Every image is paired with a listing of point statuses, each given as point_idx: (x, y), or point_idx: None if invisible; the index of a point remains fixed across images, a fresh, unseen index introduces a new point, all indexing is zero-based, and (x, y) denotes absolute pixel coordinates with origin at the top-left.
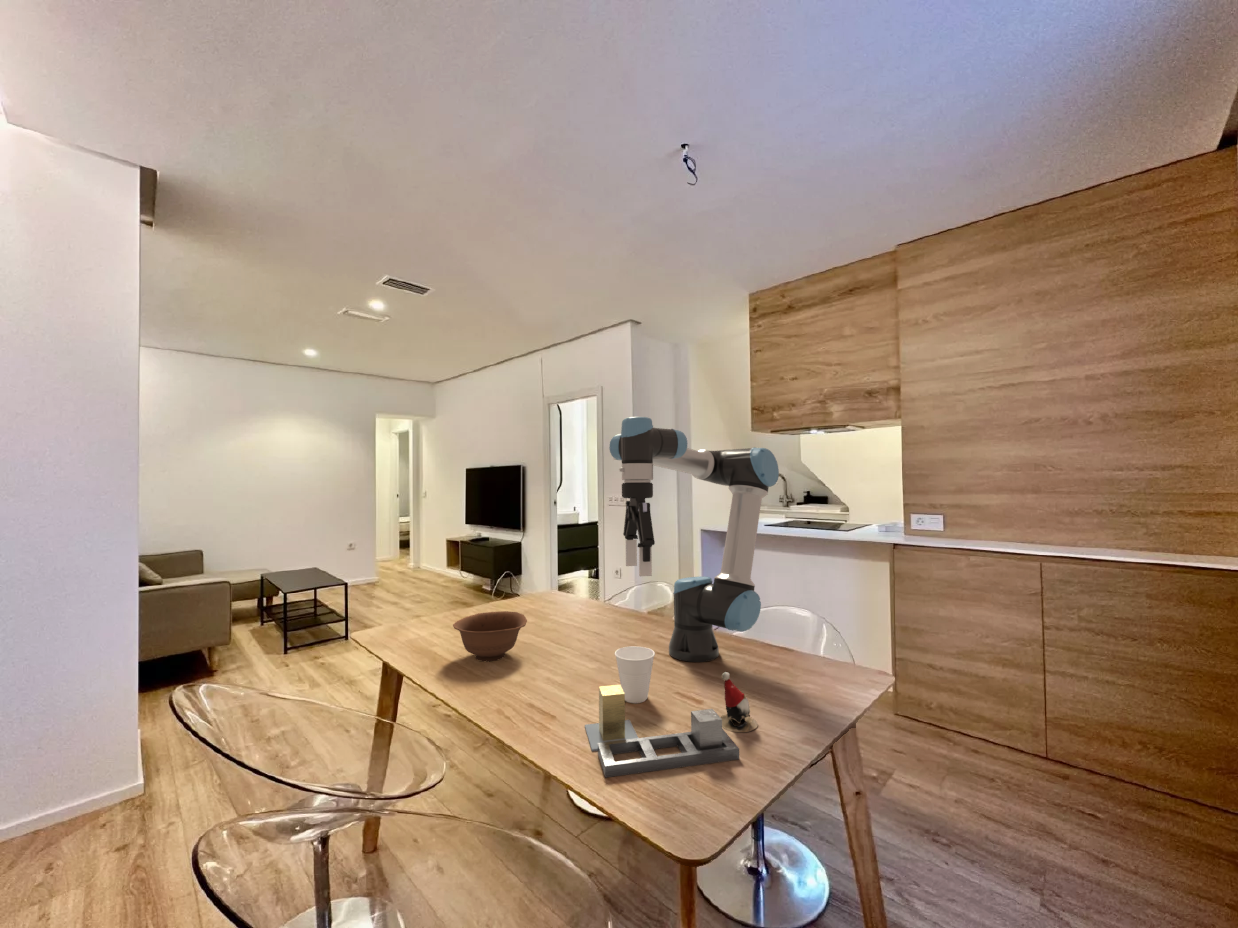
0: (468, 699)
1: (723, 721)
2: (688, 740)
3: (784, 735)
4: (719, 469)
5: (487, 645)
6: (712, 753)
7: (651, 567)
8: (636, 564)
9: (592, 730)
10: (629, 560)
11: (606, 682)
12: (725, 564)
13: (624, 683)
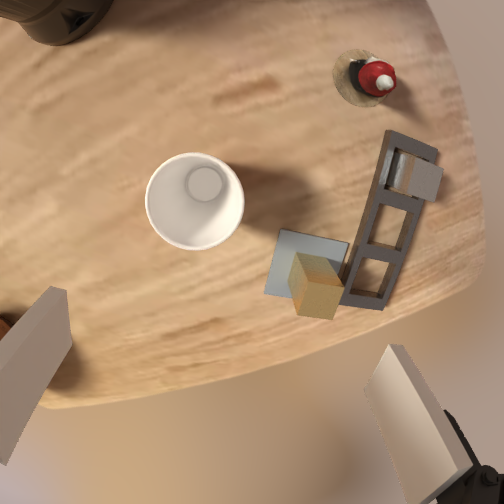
0: (132, 387)
1: (349, 94)
2: (395, 195)
3: (413, 53)
4: None
5: None
6: None
7: (419, 373)
8: (62, 296)
9: (285, 289)
10: (57, 351)
11: (122, 207)
12: None
13: (213, 218)
